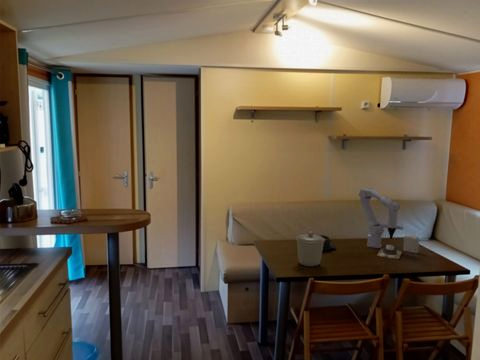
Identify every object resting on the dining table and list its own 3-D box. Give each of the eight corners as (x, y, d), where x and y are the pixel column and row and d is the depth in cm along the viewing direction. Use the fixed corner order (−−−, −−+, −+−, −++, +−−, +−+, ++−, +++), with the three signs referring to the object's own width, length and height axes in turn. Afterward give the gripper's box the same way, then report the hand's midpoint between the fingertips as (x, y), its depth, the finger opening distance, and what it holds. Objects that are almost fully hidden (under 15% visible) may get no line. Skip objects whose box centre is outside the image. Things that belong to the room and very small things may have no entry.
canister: (317, 259, 273) (319, 227, 270) (328, 268, 255) (329, 234, 253) (291, 259, 270) (292, 228, 267) (300, 269, 252) (301, 235, 249)
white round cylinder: (385, 253, 286) (386, 245, 286) (386, 251, 291) (387, 244, 290) (393, 254, 284) (393, 246, 283) (394, 252, 288) (394, 245, 288)
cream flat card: (377, 256, 283) (377, 250, 282) (381, 249, 299) (381, 244, 298) (398, 259, 276) (399, 253, 276) (401, 252, 292) (402, 247, 292)
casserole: (307, 253, 286) (307, 241, 284) (297, 245, 304) (297, 234, 302) (340, 251, 291) (341, 240, 290) (328, 244, 309) (329, 233, 308)
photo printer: (402, 250, 298) (403, 233, 296) (405, 249, 301) (406, 232, 299) (415, 253, 290) (417, 236, 288) (418, 252, 293) (420, 235, 291)
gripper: (380, 219, 292) (379, 238, 294) (402, 222, 286) (401, 241, 287) (382, 217, 299) (381, 235, 300) (404, 220, 292) (402, 238, 294)
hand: (391, 238), depth 294 cm, fingers closed
